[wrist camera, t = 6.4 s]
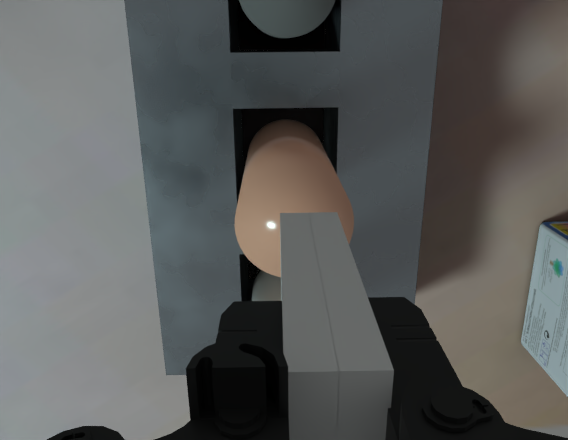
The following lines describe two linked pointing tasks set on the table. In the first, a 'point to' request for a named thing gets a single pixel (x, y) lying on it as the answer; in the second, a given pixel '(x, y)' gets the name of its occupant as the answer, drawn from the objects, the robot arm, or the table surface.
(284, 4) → the gray plug
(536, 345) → the ink cartridge box
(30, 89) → the table surface
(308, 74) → the grey peg holder block
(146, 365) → the table surface
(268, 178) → the terracotta plug
